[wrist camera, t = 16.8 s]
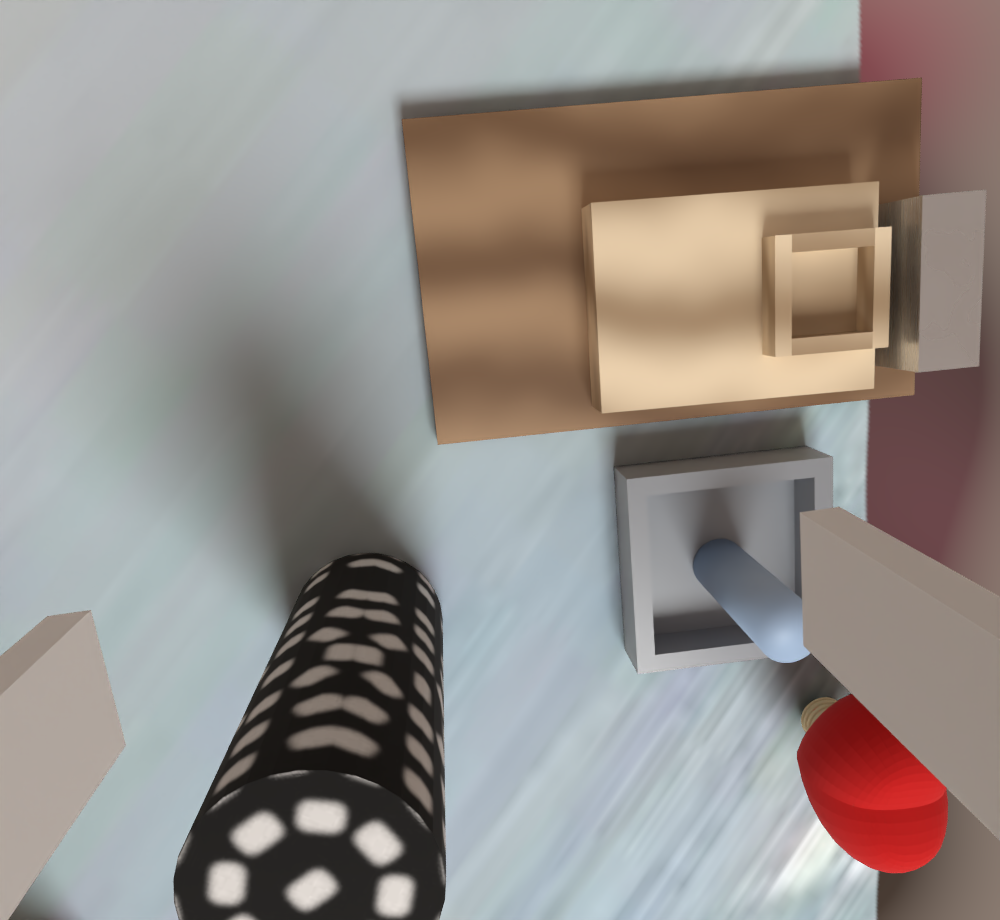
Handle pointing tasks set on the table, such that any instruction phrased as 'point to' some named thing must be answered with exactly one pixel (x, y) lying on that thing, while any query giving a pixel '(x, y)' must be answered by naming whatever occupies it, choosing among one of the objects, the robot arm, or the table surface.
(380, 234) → the table surface
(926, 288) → the block
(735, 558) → the dowel
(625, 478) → the tray
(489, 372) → the board
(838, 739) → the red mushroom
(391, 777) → the spotted tube
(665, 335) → the wooden block with recess
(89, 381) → the table surface
